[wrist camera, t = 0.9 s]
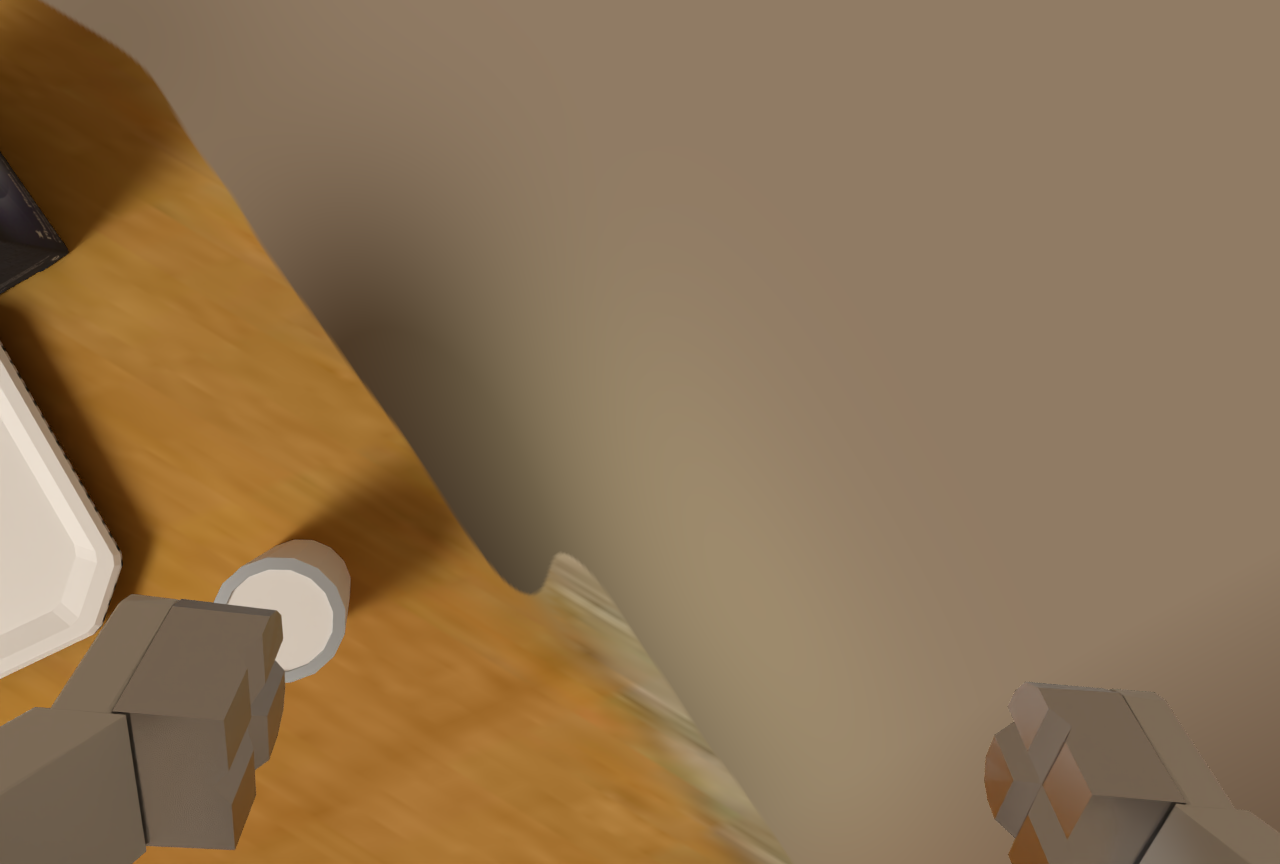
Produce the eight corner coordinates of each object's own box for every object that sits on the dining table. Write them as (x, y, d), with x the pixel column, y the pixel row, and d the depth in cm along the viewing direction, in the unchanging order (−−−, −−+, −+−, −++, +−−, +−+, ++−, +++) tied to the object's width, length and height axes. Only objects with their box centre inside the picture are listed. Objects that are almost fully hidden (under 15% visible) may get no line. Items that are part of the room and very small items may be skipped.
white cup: (253, 650, 60) (222, 695, 53) (231, 538, 59) (197, 568, 52) (370, 630, 61) (356, 671, 54) (351, 520, 60) (333, 547, 53)
